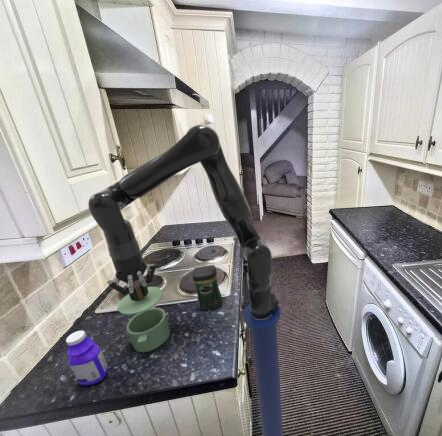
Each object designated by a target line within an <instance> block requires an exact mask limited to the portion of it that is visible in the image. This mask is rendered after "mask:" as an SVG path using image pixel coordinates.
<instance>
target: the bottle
mask: <svg viewBox="0 0 442 436" xmlns="http://www.w3.org/2000/svg"><path fill="white" fill-rule="evenodd" d="M65 342H66V345H67V347H68V349H67V356H68V360H67V362H68V365H69V367H70V369H71V371H72V373H73V375H74V376H75V378H76V381H77V382H78V384H79V385H82V386H91V385H95V384H98V383H99V382H102V381H103V380H104V378H105V377H106V376H107V374H108V372H109V365H108V362H107V361H106V358H105V356H104V353H103V351H102V349H101V347H100V345H98V344H97V343H94V339H92V338H91V337H88V335H87V334H86V331H85V330H77V331H74V332H73V333H70V334H69V335H68V336H67V337H66V339H65Z"/></svg>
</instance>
